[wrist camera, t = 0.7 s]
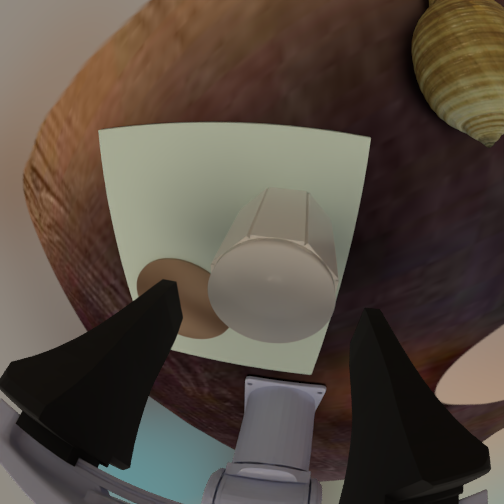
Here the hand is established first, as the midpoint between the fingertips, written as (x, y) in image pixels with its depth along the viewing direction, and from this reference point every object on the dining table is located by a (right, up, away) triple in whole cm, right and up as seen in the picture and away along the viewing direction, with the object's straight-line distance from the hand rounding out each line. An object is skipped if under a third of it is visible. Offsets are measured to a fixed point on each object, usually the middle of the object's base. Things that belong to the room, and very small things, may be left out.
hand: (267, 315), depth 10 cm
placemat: (-3, +1, +9) cm, 9 cm away
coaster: (-6, -1, +10) cm, 12 cm away
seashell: (+10, +13, -2) cm, 17 cm away
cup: (+1, +4, +6) cm, 7 cm away
